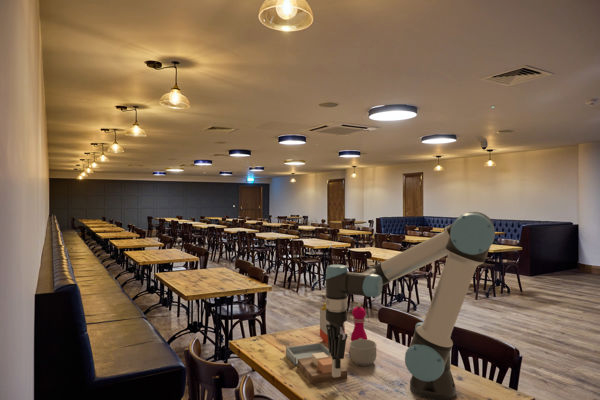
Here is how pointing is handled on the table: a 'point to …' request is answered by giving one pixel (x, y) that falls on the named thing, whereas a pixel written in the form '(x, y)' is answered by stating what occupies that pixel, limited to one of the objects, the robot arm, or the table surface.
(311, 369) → the walnut board
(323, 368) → the orange square block
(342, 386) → the table surface
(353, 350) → the teacup
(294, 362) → the tray
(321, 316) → the french fries container
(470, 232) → the robot arm
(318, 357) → the cream square block
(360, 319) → the pepper mill
